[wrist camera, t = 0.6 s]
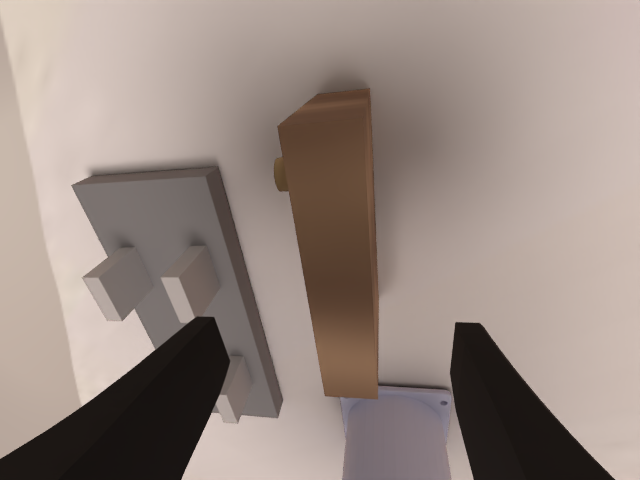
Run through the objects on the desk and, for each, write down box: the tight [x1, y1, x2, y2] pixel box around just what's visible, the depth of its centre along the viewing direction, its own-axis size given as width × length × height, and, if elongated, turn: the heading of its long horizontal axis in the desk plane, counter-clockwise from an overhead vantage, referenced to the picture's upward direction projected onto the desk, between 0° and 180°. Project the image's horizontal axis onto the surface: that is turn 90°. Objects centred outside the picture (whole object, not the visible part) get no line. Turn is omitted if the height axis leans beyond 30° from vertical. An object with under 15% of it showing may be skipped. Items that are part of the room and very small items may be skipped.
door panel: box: [274, 89, 379, 400], centre depth 15 cm, size 12×3×7 cm, turn 7°
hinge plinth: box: [71, 167, 283, 424], centre depth 22 cm, size 20×8×4 cm, turn 7°
